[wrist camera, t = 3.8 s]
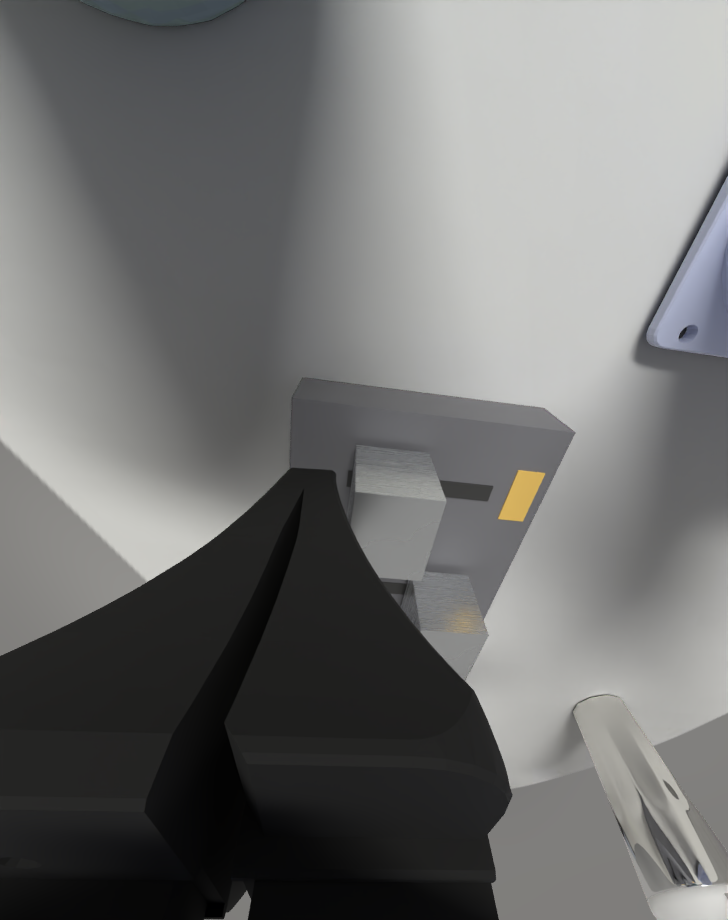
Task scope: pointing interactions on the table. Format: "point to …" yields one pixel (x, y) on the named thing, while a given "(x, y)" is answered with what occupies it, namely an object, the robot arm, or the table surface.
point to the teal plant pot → (165, 10)
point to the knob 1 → (395, 509)
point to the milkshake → (655, 817)
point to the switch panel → (441, 465)
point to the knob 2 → (447, 617)
